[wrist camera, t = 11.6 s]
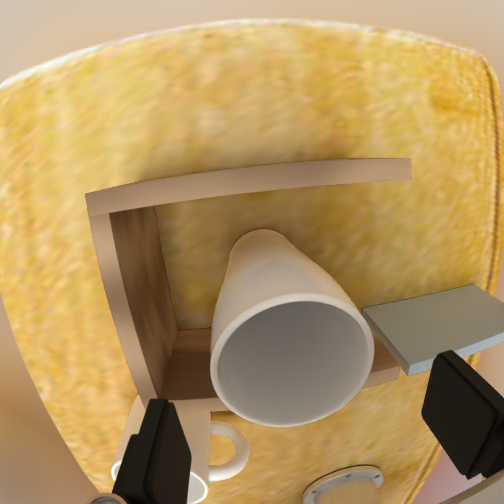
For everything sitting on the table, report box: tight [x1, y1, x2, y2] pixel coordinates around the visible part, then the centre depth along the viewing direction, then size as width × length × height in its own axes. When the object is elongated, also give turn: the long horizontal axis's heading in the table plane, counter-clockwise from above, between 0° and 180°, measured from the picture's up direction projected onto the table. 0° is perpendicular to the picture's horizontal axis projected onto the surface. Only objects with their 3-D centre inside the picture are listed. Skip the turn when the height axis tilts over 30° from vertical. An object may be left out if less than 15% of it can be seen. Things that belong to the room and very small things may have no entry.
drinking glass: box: [210, 229, 374, 427], centre depth 19 cm, size 7×7×15 cm
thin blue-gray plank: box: [362, 284, 504, 376], centre depth 24 cm, size 14×1×10 cm, turn 96°
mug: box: [111, 394, 250, 504], centre depth 25 cm, size 12×8×10 cm
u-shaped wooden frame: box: [85, 158, 412, 413], centre depth 21 cm, size 14×17×10 cm
